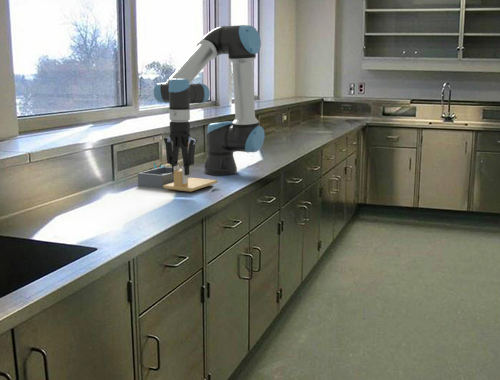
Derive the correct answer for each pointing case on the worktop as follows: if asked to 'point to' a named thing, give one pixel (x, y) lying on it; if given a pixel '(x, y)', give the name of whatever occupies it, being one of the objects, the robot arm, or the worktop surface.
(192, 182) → the lid
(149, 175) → the tub
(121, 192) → the worktop surface
